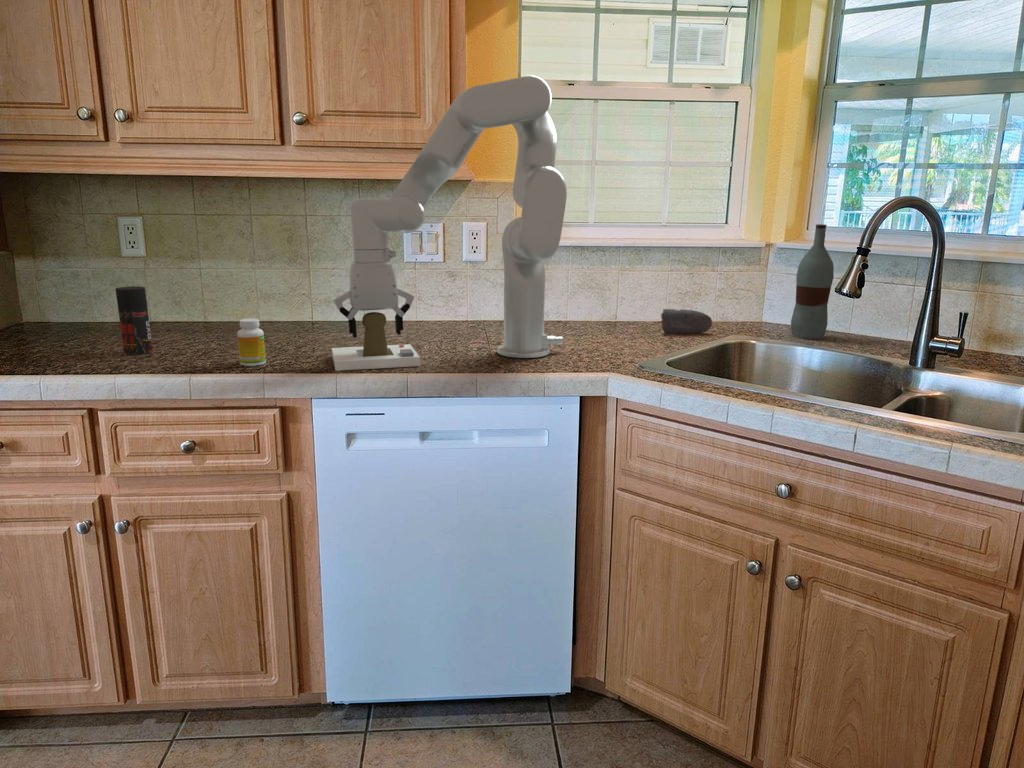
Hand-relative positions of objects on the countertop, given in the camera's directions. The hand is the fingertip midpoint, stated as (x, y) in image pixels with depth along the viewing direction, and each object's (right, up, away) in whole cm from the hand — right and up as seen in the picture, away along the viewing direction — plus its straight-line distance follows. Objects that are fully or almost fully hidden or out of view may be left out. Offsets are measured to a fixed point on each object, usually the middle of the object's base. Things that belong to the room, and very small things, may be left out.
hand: (376, 335), depth 154 cm
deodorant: (-57, -4, +7) cm, 57 cm away
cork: (0, -6, +1) cm, 6 cm away
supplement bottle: (-27, -7, -2) cm, 28 cm away
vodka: (+111, +2, +35) cm, 117 cm away
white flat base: (-1, -6, +1) cm, 6 cm away
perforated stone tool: (+78, +3, +38) cm, 87 cm away
